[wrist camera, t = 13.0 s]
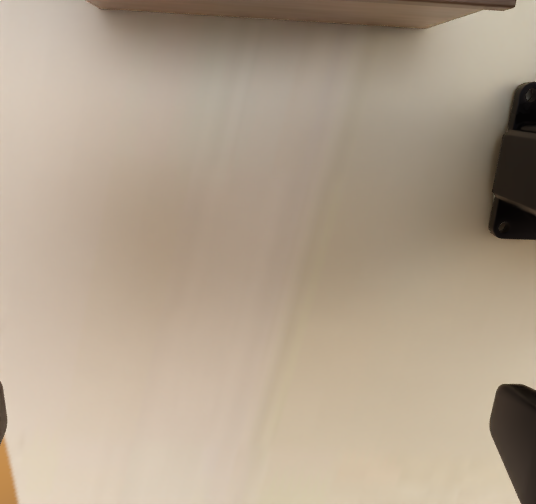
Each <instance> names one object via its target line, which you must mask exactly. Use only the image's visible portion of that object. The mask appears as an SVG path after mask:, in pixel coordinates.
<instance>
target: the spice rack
mask: <svg viewBox="0 0 536 504" xmlns="http://www.w3.org/2000/svg"><path fill="white" fill-rule="evenodd" d="M86 1H87V2H89V3H91V4H92V5H94V6H96V7H98V8H99V9H112V10H128V11H145V12H161V13H177V14H193V15H209V16H226V17H242V18H258V19H274V20H291V21H307V22H323V23H339V24H356V25H372V26H388V27H404V28H421V29H426V28H429V27H432V26H436V25H439V24H442V23H445V22H448V21H451V20H454V19H457V18H460V17H463V16H466V15H469V14H472V13H475V12H478V11H481V10H497V11H505V10H508V9H511V8H514V7H515V4H516V0H86Z"/></svg>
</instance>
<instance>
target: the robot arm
mask: <svg viewBox="0 0 536 504" xmlns="http://www.w3.org/2000/svg"><path fill="white" fill-rule="evenodd" d="M528 90H531V91H532V98H531V99H530V100H529V101H527V99H526V93H527V91H528ZM492 192H493V194H494V195H495V197H494V202H493V207H492V212H491V217H490V222H489V230H490V232H491V233H492V234H493V235H494V236H496V237H498V238H502V239H532V240H536V82H527V83H523V84H522V85H520V86H519V87H518V88H517V90H516V92H515V95H514V100H513V105H512V110H511V115H510V120H509V125H508V130H507V132H506V133H505V134H504V135H503V139H502V144H501V149H500V154H499V159H498V164H497V170H496V175H495V180H494V185H493V190H492ZM503 222H505V227H504V229H502V230H500V231H499V226H500V224H501V223H503ZM6 428H7V413H6V406H5V399H4V392H3V386H2V383H1V382H0V444H1V442H2V439H3V437H4V434H5V432H6ZM490 432H491V435H492V438H493V440H494V442H495V445H496V447H497V449H498V452H499V454H500V456H501V459H502V461H503V463H504V466H505V468H506V470H507V473H508V475H509V477H510V479H511V482H512V484H513V486H514V489H515V491H516V493H517V496H518V498H519V500H520V502H521V504H536V390H534V389H532V388H530V387H528V386H525V385H522V384H502V385H500V386H499V387H498V389H497V391H496V395H495V399H494V404H493V408H492V413H491V417H490Z"/></svg>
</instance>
